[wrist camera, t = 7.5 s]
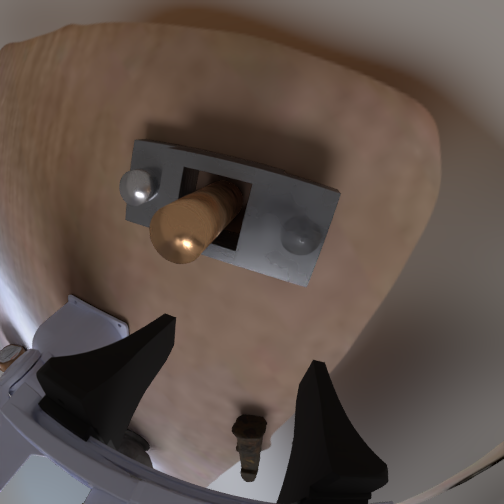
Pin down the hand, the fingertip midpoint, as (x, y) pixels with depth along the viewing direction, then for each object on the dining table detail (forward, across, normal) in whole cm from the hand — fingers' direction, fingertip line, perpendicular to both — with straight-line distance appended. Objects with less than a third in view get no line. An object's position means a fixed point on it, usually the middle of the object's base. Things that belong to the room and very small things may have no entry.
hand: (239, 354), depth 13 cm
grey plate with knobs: (+9, +5, -5) cm, 11 cm away
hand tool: (+10, -6, +29) cm, 31 cm away
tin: (+10, +49, +40) cm, 64 cm away
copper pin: (+9, +5, -5) cm, 11 cm away
